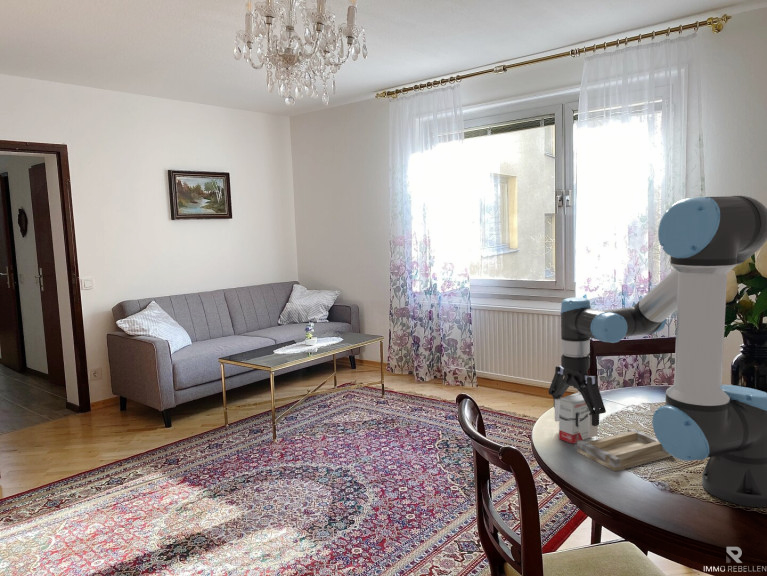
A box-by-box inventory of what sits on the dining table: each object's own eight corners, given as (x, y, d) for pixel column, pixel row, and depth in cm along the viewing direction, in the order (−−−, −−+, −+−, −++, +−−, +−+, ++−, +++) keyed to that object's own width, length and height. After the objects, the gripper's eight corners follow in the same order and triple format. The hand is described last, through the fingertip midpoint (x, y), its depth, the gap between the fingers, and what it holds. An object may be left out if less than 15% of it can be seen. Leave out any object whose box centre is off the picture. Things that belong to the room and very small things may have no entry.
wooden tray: (672, 455, 141) (672, 444, 140) (615, 471, 134) (615, 459, 133) (631, 438, 153) (631, 427, 152) (577, 451, 146) (577, 440, 145)
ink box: (573, 444, 150) (573, 402, 149) (558, 439, 155) (558, 398, 153) (592, 436, 155) (592, 396, 154) (577, 431, 159) (577, 392, 158)
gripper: (620, 362, 142) (619, 441, 145) (556, 343, 165) (556, 412, 167) (598, 366, 139) (597, 446, 142) (535, 346, 162) (536, 416, 165)
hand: (575, 428), depth 155 cm, fingers open, 13 cm apart
